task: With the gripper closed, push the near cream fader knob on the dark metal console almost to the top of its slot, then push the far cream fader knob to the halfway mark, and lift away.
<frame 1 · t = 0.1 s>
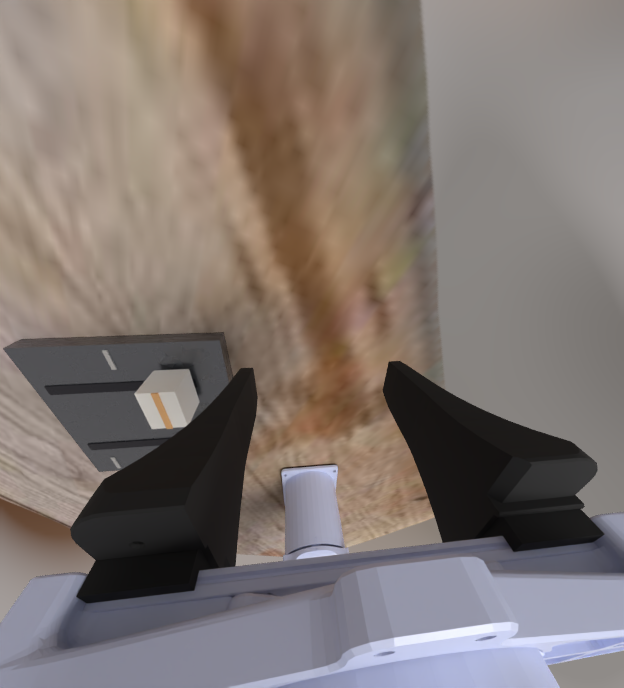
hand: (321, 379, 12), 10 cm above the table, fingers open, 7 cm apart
fader console: (157, 405, 25), on the table
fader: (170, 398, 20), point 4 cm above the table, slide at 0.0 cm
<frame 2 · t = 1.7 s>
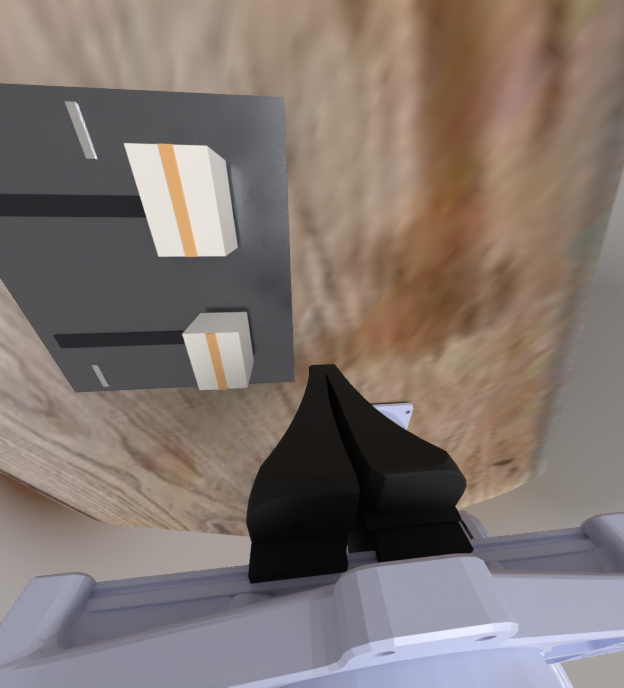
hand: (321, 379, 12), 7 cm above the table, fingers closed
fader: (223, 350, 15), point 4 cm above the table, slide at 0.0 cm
fader console: (165, 275, 16), on the table
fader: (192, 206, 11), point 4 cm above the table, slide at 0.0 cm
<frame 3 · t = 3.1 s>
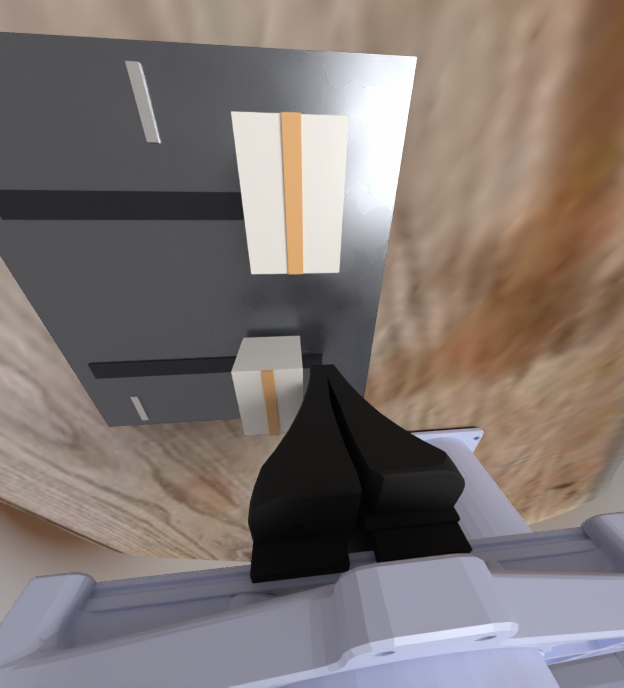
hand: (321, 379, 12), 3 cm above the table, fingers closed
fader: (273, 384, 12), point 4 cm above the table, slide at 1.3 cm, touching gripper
fader console: (222, 290, 13), on the table
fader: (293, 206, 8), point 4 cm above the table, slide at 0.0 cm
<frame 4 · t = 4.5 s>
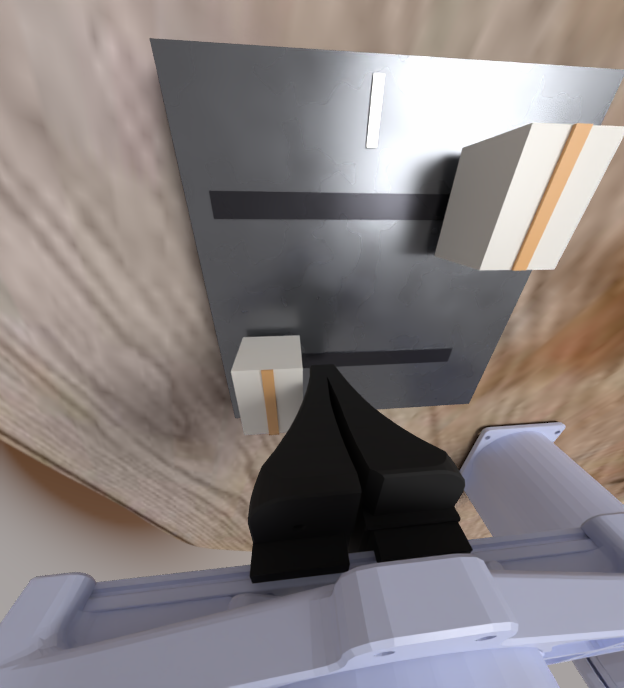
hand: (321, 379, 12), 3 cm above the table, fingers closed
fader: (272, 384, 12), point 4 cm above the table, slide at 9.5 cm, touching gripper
fader console: (365, 286, 14), on the table
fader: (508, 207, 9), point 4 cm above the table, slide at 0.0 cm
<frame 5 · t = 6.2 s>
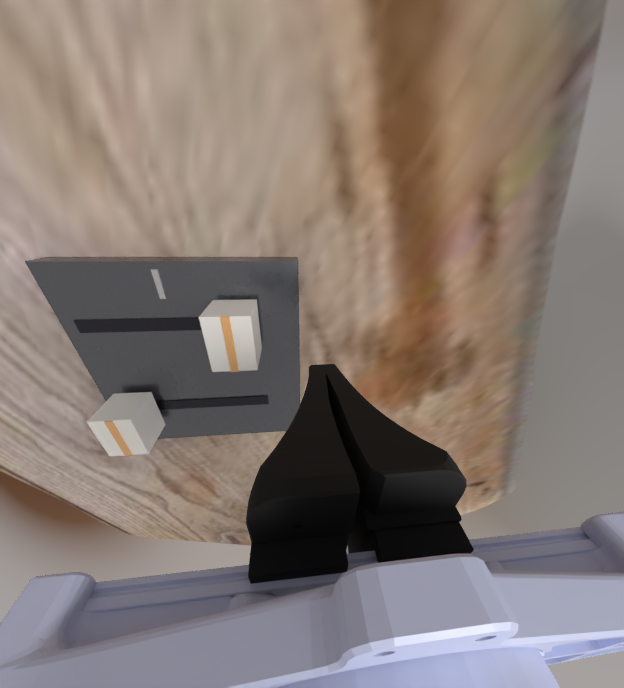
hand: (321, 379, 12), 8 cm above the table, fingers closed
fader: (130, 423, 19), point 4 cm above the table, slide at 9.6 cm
fader console: (203, 357, 21), on the table
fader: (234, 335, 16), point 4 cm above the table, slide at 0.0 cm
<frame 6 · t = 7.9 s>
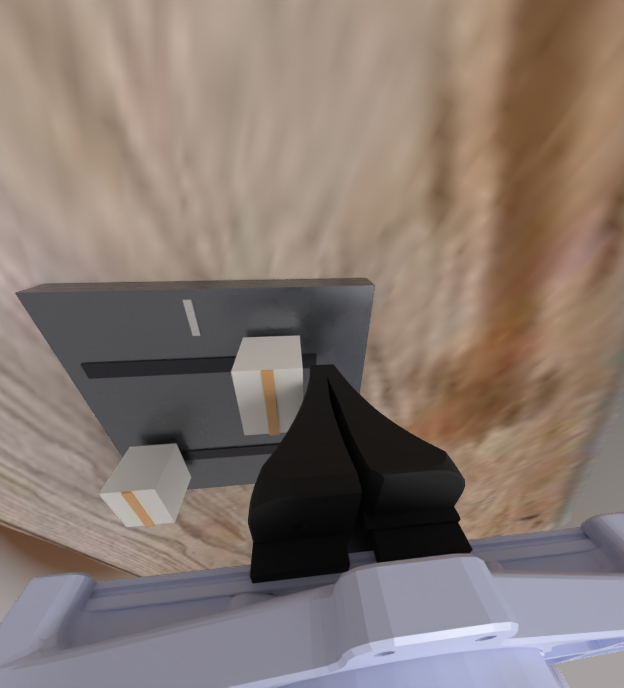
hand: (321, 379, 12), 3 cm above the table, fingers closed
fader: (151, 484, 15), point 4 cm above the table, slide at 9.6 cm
fader console: (238, 397, 17), on the table
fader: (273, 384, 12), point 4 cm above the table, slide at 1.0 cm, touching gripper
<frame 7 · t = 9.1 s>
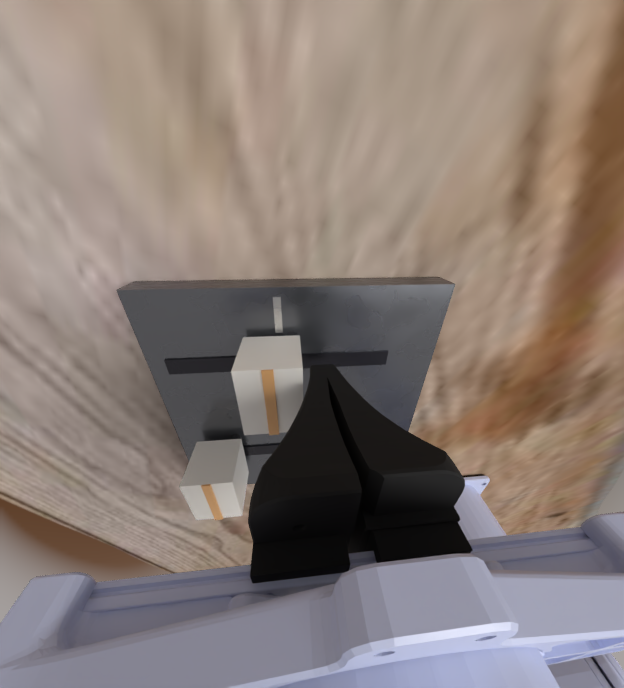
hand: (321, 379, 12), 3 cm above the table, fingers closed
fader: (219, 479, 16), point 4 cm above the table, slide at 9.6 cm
fader console: (298, 394, 17), on the table
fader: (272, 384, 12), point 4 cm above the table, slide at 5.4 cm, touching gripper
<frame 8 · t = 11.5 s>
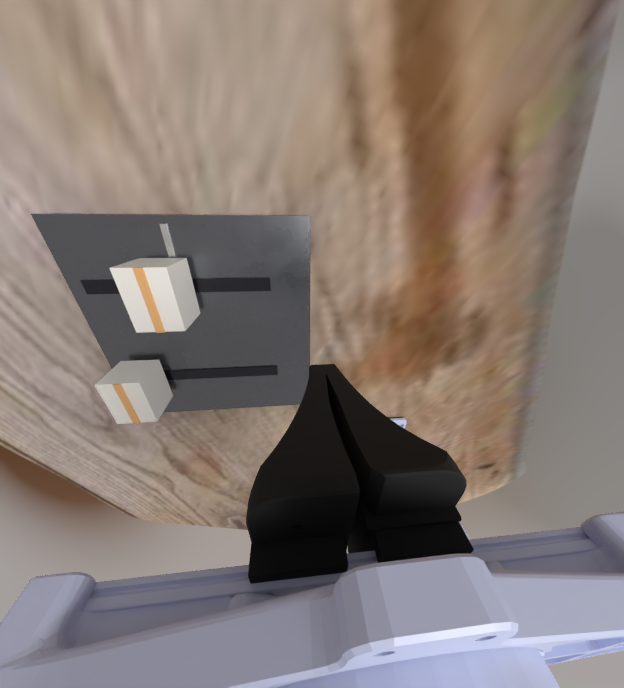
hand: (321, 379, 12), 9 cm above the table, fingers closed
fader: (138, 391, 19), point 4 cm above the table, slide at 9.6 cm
fader console: (211, 325, 20), on the table
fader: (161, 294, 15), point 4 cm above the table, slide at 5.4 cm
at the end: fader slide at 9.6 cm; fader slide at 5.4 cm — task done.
